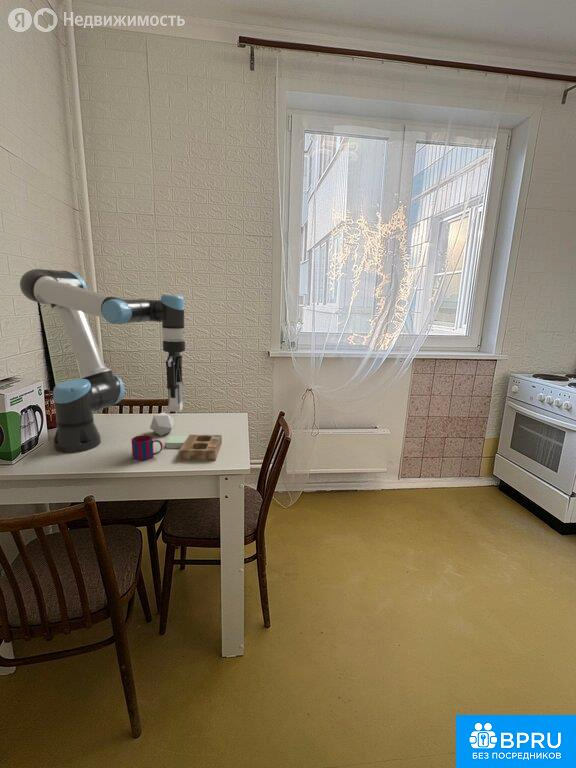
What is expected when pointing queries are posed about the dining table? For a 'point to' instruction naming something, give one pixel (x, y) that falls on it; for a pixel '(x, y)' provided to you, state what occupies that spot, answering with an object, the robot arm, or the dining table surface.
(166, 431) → the die
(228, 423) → the dining table surface
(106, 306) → the robot arm
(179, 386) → the plug
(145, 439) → the mug
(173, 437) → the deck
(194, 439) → the socket block
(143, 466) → the dining table surface
